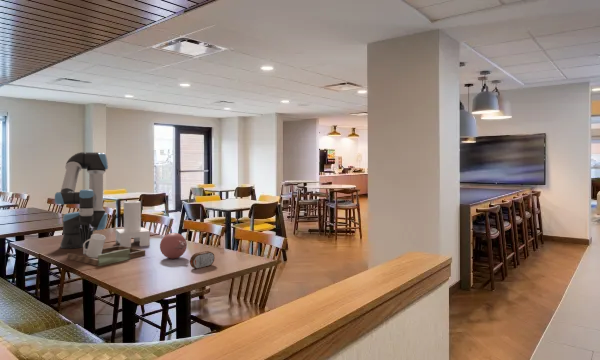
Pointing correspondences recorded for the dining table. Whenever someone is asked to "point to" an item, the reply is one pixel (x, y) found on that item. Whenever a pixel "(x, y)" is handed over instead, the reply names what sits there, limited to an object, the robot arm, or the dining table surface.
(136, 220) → the white block stand
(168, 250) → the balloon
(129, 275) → the dining table surface
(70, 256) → the wooden compartment tray
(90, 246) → the mug
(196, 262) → the tin
